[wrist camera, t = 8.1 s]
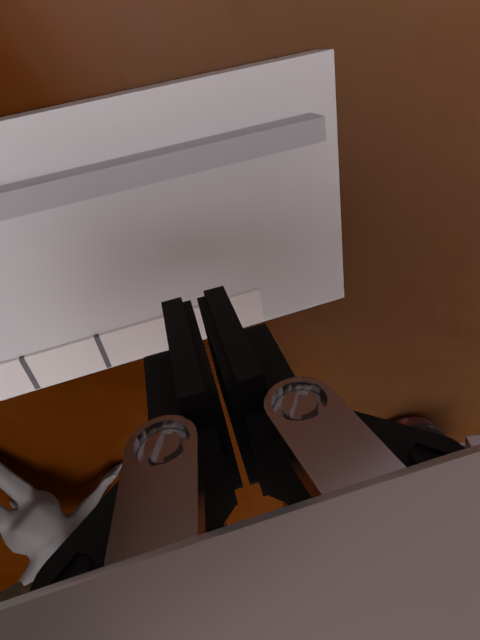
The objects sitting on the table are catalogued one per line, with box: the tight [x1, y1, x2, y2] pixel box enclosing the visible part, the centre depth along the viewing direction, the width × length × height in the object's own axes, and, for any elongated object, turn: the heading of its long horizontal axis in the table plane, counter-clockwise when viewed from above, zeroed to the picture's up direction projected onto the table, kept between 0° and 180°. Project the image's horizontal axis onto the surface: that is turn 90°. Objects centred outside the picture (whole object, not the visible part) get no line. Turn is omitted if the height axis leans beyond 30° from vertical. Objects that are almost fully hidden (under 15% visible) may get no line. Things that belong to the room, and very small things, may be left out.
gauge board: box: [0, 49, 344, 401], centre depth 15 cm, size 24×10×6 cm, turn 100°
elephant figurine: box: [0, 462, 122, 586], centre depth 21 cm, size 9×6×8 cm
